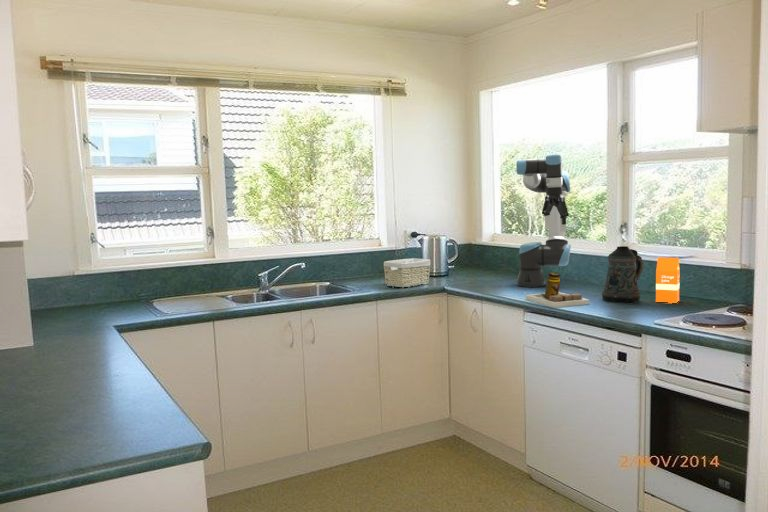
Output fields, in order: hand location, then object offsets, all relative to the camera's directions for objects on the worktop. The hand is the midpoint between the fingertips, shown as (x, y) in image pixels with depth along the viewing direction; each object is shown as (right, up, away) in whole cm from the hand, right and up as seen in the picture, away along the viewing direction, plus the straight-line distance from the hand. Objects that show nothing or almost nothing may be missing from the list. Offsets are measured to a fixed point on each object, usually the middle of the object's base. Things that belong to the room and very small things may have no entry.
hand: (555, 230), depth 306 cm
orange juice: (+44, -34, -24) cm, 60 cm away
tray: (-4, -34, -17) cm, 38 cm away
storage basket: (-70, -30, +51) cm, 92 cm away
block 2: (-2, -34, -24) cm, 42 cm away
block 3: (+3, -34, -23) cm, 41 cm away
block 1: (-7, -35, -26) cm, 44 cm away
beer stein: (+26, -33, -17) cm, 46 cm away
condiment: (-6, -32, -12) cm, 35 cm away
